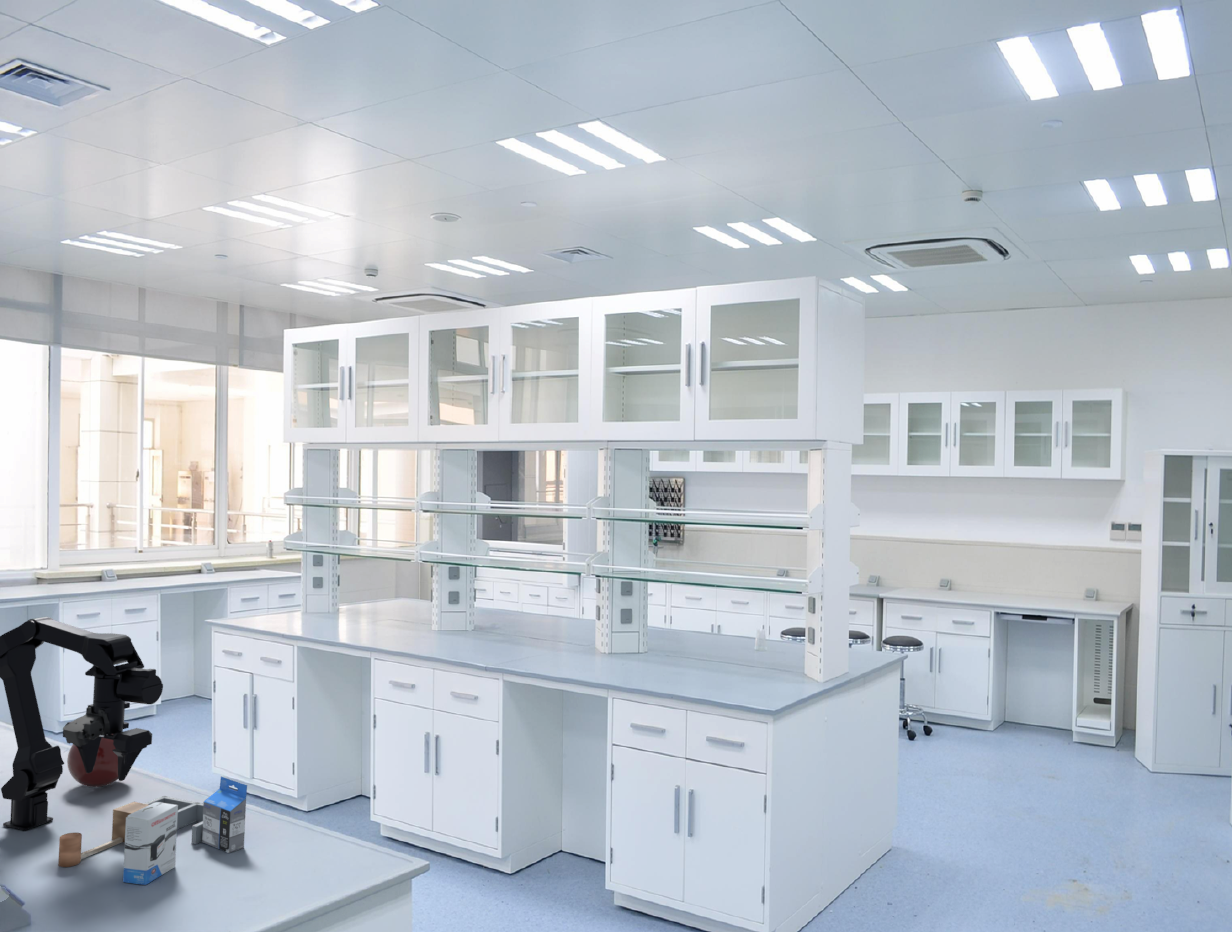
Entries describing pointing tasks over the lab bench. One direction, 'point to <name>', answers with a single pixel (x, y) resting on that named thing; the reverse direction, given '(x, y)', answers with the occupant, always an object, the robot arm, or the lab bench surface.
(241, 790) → the ink cartridge box
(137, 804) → the brown elongated piece
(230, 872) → the lab bench surface
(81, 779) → the round-bottom flask
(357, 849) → the lab bench surface
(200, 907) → the lab bench surface
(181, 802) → the shelf lane
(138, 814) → the ink box
